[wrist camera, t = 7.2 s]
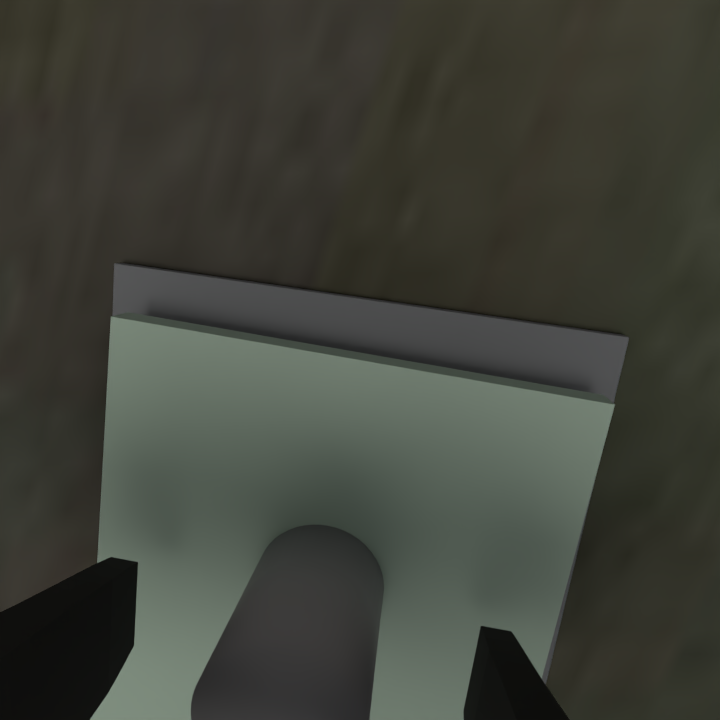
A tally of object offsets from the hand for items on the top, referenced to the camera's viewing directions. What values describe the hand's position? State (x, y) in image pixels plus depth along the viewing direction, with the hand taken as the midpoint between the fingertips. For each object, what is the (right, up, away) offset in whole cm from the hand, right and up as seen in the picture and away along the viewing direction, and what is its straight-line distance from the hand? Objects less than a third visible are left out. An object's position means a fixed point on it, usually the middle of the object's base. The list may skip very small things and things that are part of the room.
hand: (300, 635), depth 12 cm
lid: (0, 0, +4) cm, 4 cm away
